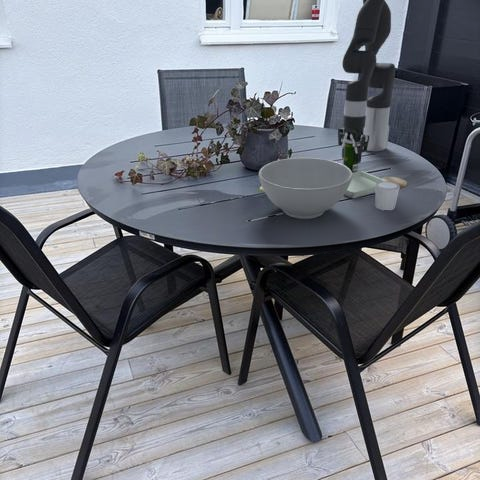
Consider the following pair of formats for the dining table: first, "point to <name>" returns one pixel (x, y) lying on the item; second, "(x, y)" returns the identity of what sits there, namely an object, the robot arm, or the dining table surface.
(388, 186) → the white cup
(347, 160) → the beer can
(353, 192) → the tray
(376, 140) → the robot arm
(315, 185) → the decorative bowl
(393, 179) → the oak coaster
